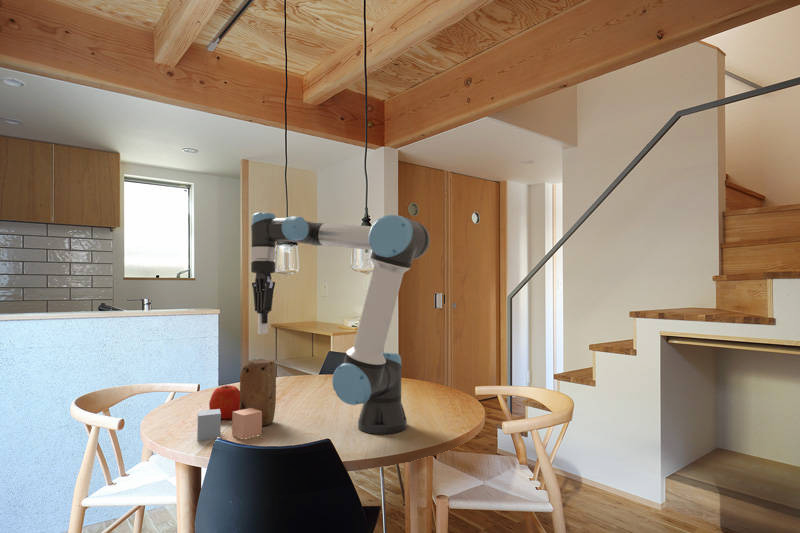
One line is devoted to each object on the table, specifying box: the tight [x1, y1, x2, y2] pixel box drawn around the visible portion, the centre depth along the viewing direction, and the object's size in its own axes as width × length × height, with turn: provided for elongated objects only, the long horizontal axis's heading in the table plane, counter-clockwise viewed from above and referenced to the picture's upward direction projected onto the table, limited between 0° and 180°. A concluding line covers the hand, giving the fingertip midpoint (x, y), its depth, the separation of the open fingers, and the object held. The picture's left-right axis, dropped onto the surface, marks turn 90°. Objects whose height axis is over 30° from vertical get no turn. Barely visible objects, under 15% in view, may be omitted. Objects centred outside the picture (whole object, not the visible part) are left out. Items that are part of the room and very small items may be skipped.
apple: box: [208, 385, 240, 420], centre depth 157 cm, size 11×11×11 cm
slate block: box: [196, 409, 222, 442], centre depth 136 cm, size 6×6×7 cm
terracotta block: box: [231, 408, 263, 439], centre depth 137 cm, size 6×6×7 cm
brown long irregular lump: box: [239, 358, 277, 427], centre depth 149 cm, size 11×8×20 cm
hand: (262, 333), depth 151 cm, fingers closed
